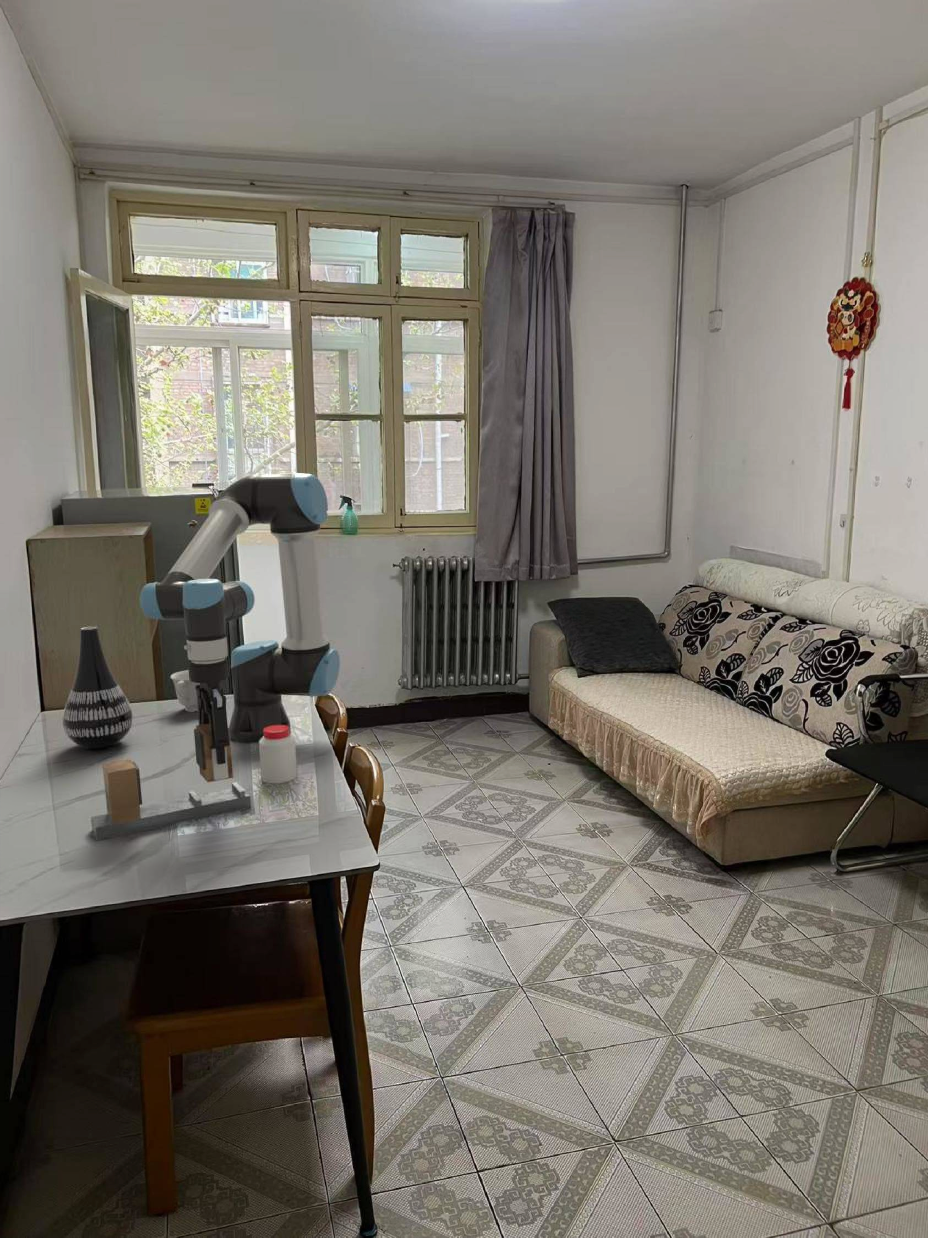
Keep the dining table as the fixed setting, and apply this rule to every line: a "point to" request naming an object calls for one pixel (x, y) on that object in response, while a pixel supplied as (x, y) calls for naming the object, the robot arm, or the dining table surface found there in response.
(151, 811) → the rail
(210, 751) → the brown wooden block
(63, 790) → the dining table surface
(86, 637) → the vase
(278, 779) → the pill bottle
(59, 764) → the dining table surface
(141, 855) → the dining table surface
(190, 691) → the teacup
